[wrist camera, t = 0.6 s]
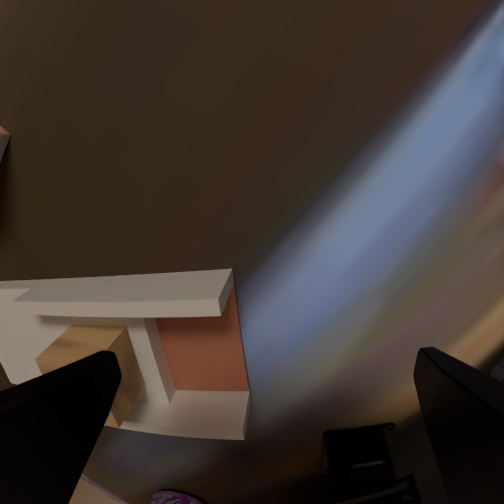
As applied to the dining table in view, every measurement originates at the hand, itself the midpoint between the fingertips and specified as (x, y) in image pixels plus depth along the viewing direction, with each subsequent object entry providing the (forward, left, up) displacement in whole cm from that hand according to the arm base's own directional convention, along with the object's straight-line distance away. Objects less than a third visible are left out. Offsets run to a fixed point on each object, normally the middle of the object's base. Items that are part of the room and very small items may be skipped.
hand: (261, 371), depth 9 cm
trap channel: (-7, +16, -12) cm, 21 cm away
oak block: (-7, +13, -10) cm, 18 cm away
